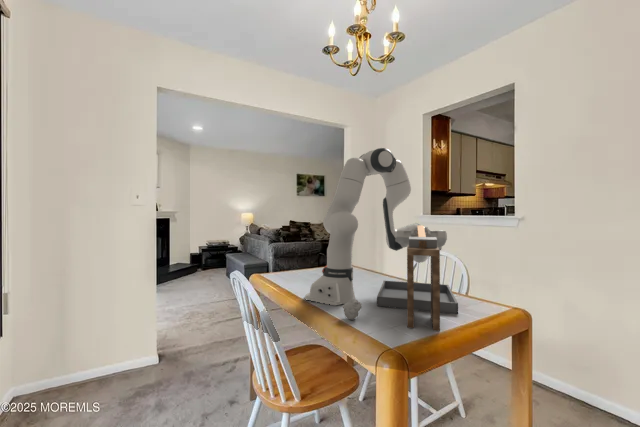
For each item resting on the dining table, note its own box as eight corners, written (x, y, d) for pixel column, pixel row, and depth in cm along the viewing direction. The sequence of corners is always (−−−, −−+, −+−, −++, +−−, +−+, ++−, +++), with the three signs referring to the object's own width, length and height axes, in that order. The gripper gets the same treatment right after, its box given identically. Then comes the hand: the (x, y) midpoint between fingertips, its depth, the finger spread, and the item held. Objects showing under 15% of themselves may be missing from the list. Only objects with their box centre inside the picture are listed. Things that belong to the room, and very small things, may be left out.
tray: (377, 306, 116) (377, 296, 116) (383, 288, 144) (383, 280, 144) (458, 314, 107) (458, 303, 107) (448, 293, 135) (448, 284, 135)
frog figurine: (362, 322, 98) (362, 302, 98) (342, 321, 99) (341, 301, 99) (361, 316, 104) (361, 297, 105) (342, 315, 105) (342, 296, 105)
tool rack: (407, 327, 94) (407, 248, 94) (407, 315, 106) (407, 245, 106) (440, 331, 91) (439, 249, 91) (436, 318, 103) (436, 246, 103)
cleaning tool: (409, 247, 99) (408, 239, 98) (409, 231, 119) (409, 224, 119) (436, 248, 96) (437, 239, 95) (432, 231, 116) (432, 224, 116)
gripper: (395, 236, 130) (394, 221, 119) (444, 236, 124) (447, 221, 113) (395, 248, 127) (393, 235, 116) (445, 250, 121) (448, 236, 110)
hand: (420, 228), depth 114 cm, fingers closed on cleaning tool, 2 cm apart
